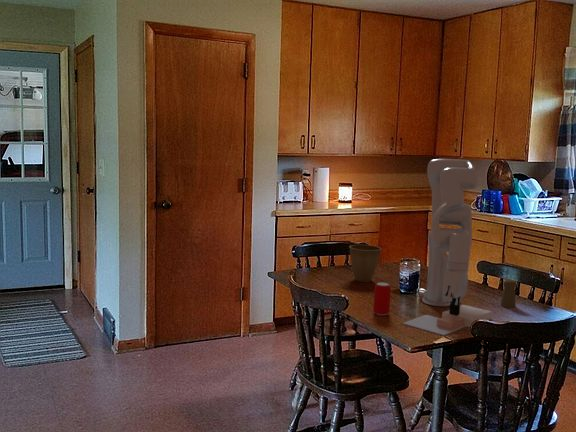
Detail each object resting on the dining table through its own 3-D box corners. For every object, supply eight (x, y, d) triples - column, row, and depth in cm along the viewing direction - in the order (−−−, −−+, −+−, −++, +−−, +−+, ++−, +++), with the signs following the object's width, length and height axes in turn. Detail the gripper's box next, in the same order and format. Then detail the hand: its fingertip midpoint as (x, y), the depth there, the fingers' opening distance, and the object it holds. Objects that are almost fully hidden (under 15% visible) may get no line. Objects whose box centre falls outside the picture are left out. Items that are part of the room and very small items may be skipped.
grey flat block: (441, 319, 232) (442, 312, 232) (462, 311, 244) (462, 304, 243) (471, 327, 224) (471, 319, 223) (490, 319, 235) (491, 311, 235)
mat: (402, 324, 225) (402, 323, 225) (425, 315, 237) (425, 314, 237) (443, 335, 214) (444, 334, 214) (466, 326, 225) (466, 325, 225)
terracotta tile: (436, 326, 223) (437, 319, 223) (448, 321, 230) (449, 314, 229) (451, 330, 219) (452, 323, 219) (463, 324, 226) (464, 318, 225)
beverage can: (387, 311, 240) (389, 282, 238) (390, 316, 234) (392, 286, 232) (372, 311, 240) (373, 281, 238) (374, 316, 234) (376, 285, 232)
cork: (512, 309, 250) (514, 283, 248) (497, 305, 254) (500, 280, 252) (517, 306, 255) (520, 280, 253) (503, 303, 258) (505, 277, 257)
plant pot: (371, 286, 279) (373, 251, 277) (342, 280, 287) (344, 247, 285) (384, 279, 292) (386, 246, 289) (356, 274, 299) (357, 242, 297)
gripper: (458, 261, 231) (455, 308, 234) (438, 267, 221) (434, 316, 223) (477, 265, 226) (473, 313, 229) (457, 271, 215) (453, 321, 218)
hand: (454, 314), depth 226 cm, fingers closed
